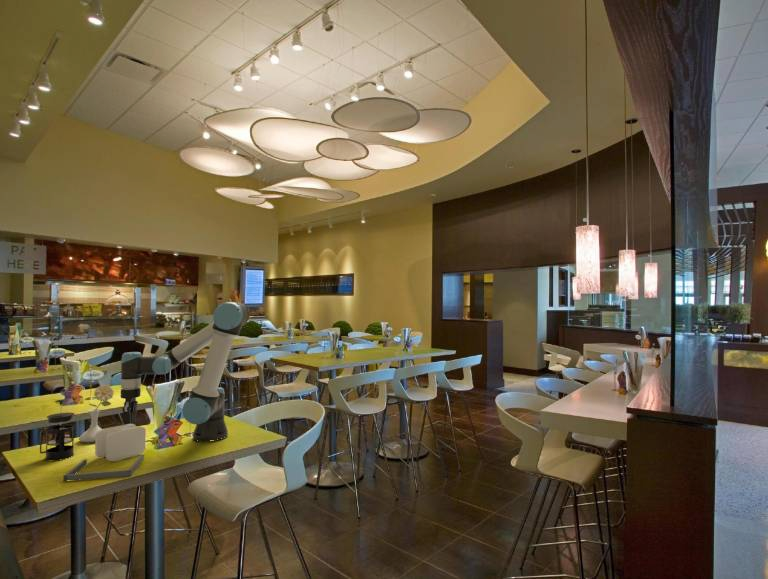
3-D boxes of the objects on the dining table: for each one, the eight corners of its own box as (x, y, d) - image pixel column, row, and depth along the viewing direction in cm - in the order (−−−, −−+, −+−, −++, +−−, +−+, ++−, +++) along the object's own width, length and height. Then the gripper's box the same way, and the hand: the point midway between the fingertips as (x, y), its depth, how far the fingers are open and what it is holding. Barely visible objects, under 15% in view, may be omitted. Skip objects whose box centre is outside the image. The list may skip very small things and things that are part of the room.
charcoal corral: (143, 460, 174) (144, 454, 174) (130, 475, 158) (130, 470, 158) (83, 464, 169) (83, 459, 169) (63, 481, 153) (63, 475, 153)
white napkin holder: (105, 464, 169) (105, 434, 170) (94, 459, 176) (95, 429, 176) (145, 454, 181) (146, 425, 182) (134, 449, 187) (134, 421, 188)
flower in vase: (77, 446, 192) (79, 388, 193) (79, 439, 202) (81, 384, 203) (112, 441, 198) (113, 385, 199) (113, 435, 208) (114, 382, 209)
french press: (73, 451, 185) (75, 396, 186) (77, 456, 178) (79, 399, 179) (38, 457, 177) (40, 400, 178) (41, 464, 170) (42, 403, 171)
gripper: (126, 385, 196) (124, 439, 195) (115, 391, 184) (114, 448, 183) (144, 385, 198) (143, 438, 197) (135, 390, 185) (134, 447, 184)
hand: (129, 443), depth 190 cm, fingers closed
